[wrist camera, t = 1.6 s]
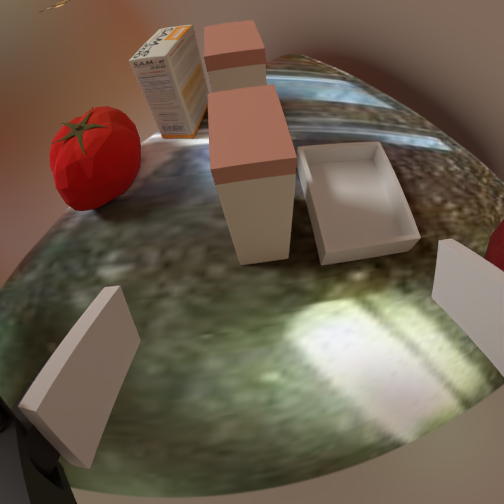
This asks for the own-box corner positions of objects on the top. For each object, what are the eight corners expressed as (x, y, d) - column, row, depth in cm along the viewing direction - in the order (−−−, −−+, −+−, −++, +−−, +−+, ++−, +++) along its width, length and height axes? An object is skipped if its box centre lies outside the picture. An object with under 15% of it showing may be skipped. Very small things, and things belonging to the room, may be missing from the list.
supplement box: (181, 101, 38) (158, 28, 26) (212, 101, 38) (194, 23, 26) (160, 139, 35) (126, 60, 23) (194, 140, 35) (166, 53, 23)
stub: (240, 265, 28) (210, 169, 15) (233, 202, 30) (207, 93, 17) (288, 258, 27) (297, 157, 15) (276, 196, 30) (273, 84, 17)
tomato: (63, 217, 32) (15, 172, 22) (106, 142, 37) (75, 91, 27) (127, 232, 30) (78, 176, 21) (170, 144, 35) (145, 82, 25)
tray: (320, 265, 27) (325, 252, 24) (296, 165, 32) (297, 146, 29) (408, 251, 27) (420, 237, 24) (373, 159, 31) (379, 141, 29)
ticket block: (230, 173, 32) (203, 57, 18) (225, 131, 35) (204, 26, 21) (271, 168, 32) (264, 48, 18) (261, 126, 35) (253, 19, 21)
